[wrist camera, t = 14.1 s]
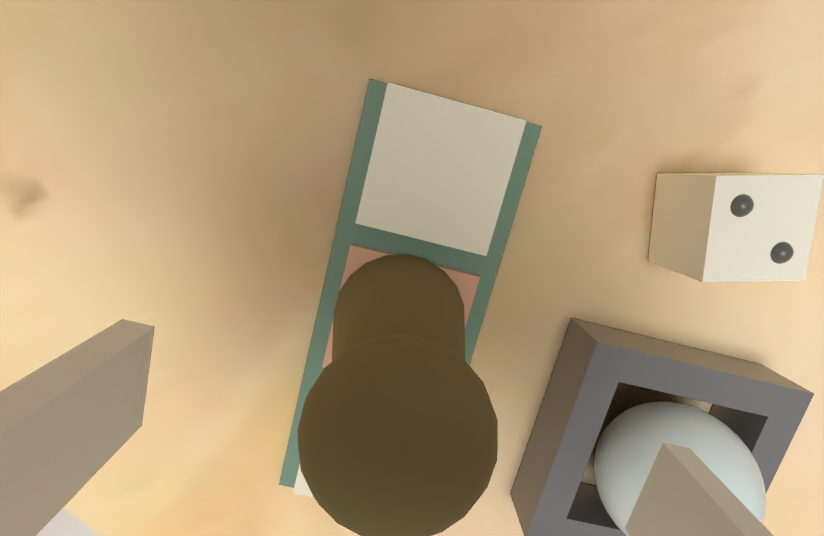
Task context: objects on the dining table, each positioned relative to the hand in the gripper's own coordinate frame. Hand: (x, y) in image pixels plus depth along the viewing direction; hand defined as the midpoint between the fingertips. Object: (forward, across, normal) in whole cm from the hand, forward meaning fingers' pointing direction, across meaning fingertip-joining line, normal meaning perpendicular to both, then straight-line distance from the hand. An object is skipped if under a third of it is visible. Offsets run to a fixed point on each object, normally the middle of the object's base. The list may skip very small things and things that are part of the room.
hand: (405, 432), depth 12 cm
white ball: (+10, +13, -4) cm, 17 cm away
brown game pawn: (+10, 0, -1) cm, 10 cm away
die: (+11, +12, +7) cm, 18 cm away
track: (+10, 0, -1) cm, 10 cm away
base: (+10, +13, -4) cm, 17 cm away
